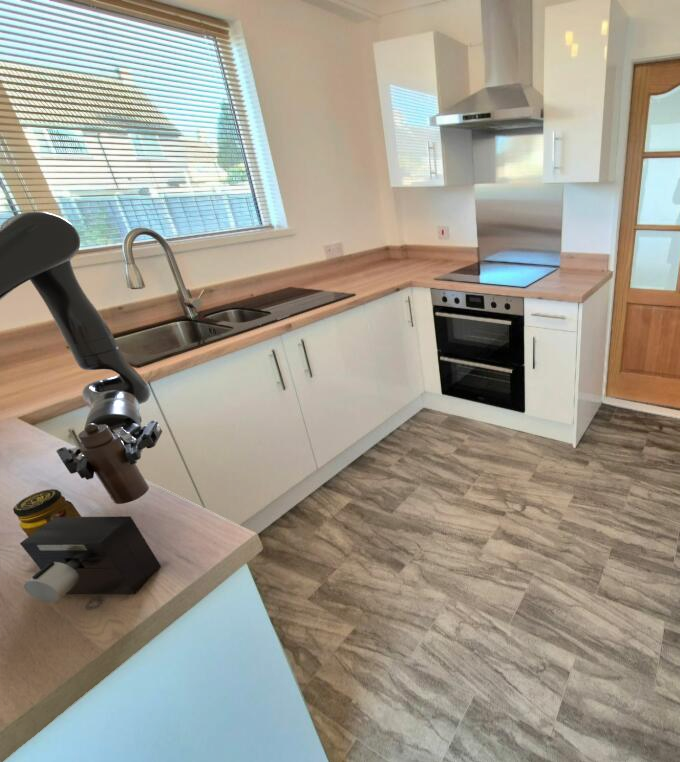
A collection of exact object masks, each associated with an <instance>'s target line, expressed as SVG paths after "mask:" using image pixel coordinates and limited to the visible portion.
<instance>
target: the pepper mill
mask: <svg viewBox="0 0 680 762" xmlns="http://www.w3.org/2000/svg"><path fill="white" fill-rule="evenodd" d="M85 425H86V424H85ZM77 437H78V439H79V441H80V442H82V445H81V446H80V450H81V452H82V453H83V455H84V456H85V458H86V460H87V461H88V463H89V464H90V466H91V467H92V469H93V471H94V475H95V476H96V477H97V478H98V480H99V481H100V484H101V485H102V486H103V488H104V489H105V491H106V493H107V494H108V496H109V497H110V499H111V500H112V502H113V503H114V504H116V505H124V504H129V503H131V502H134V501H136V500H137V499H140V498H141V497H142V496H144V495H146V493H147V492H148V491H149V490H150V489H149V488H150V487H149V484H148V483H147V481H146V479H145V478H144V476H143V475H142V472H141V471H140V469H139V467H138V465H137V463H136V464H133V465H131V464H130V463H129V461H128V459H127V457H126V455H125V448H126V447H125V445H124V443H123V441H122V440H121V438H120V436H119V435H118V434H117V433H112V432H111V431H110V429H109V427H108V426H107V425H96V424H88V425H86V426H84V429H83V430H82V431H80V432H79V433H78V434H77Z"/></svg>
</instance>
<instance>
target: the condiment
mask: <svg viewBox="0 0 680 762" xmlns="http://www.w3.org/2000/svg"><path fill="white" fill-rule="evenodd" d="M12 511H13V514H15V516H17V519H18V520H19V527H20V528H21V530H22V531H23V532H24V534H25V535H26V536H27V538H28V537H29V536H30V535H32V534H33V533H35V532H36V531H37V530H39V529H40V528H41V527H43V526H44V525H45V524H47V523H48V522H50V521H51V520H52V519H54V518H55V517H82V515H81V514H80V512H79V511H78V509H77V508H76V506H75V505H74V503H72V501H70V500H66V497H65V496H63V494H62V492H61V491H60V490H59V489H54V488H53V489H52V488H51V489H45V490H41V491H38V492H35V493H32V494H30V495H28V496H26V497H24V498H22V499H21V500H20V501H18V502H17V503H16V504H15V505H14V506H13V508H12Z"/></svg>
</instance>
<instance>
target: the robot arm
mask: <svg viewBox="0 0 680 762" xmlns="http://www.w3.org/2000/svg"><path fill="white" fill-rule="evenodd" d="M80 247H81V238H80V234H79V232H78V230H77V229H76V228H75V226H74V225H73V224H72V223H71V222H70V221H69V220H67V219H65V218H63V217H61V216H59V215H56V214H53V213H49V212H45V211H25V212H21V213H18V214H15V215H13V216H10V217H9V218H6V219H5V220H4V221H3V222H2V223H1V225H0V301H1V300H3V298H5V297H6V296H8V294H9V293H11V292H12V291H14V290H15V289H17V288H18V287H19V286H21V285H23V284H25V283H26V282H28V281H30V282H31V284H32V286H34V288H35V290H36V291H37V292H38V294H39V296H40V298H41V299H42V301H43V302H44V304H45V306H46V308H47V310H48V311H49V312H50V314H51V316H52V318H53V320H54V322H55V324H56V326H57V328H58V329H59V331H60V334H61V336H62V337H63V339H64V341H65V343H66V345H67V347H68V349H69V351H70V352H71V355H72V357H73V358H74V360H75V362H76V364H77V365H78V367H79V368H80V369H82V370H83V371H102V370H103V371H105V370H106V371H107V370H108V371H112V372H114V373H116V374H118V375H116V376H111V377H108V378H103V379H98V380H95V381H92V382H90V383H87V385H85V386H84V387H83V389H82V394H81V395H82V398H83V401H84V403H85V405H86V406H87V407H88V408H89V409H90V411H89V412H88V413H87V416H86V420H85V424H84V425H85V426H86V425H88V424H96V425H107V426H108V427H109V429H110V431H111V432H112V433H117V434H118V435H119V436H120V438H121V440H122V441H123V443H124V445H125V447H126V448H125V455H126V457H127V459H128V461H129V463H130V464H131V465H133V464H136V465H137V463H138V461H139V460H140V459H141V458H142V453H143V449H145V448H146V449H152V448H154V447H156V445H157V443H158V441H159V439H160V438H161V435H162V434H163V430H162V428H161V426H160V424H159V422H158V420H157V419H153V420H150V421H149V422H148V423H147V424H145V425H143V426H142V415H141V413H140V405H142V404H144V403H146V402H148V401H149V399H150V397H151V393H152V390H151V387H150V385H149V383H148V382H147V380H145V379H144V377H142V375H141V374H140V373H138V371H137V370H136V369H135V368H134V367H133V366H132V365H131V364H130V362H129V361H128V360H127V359H126V357H125V355H123V353H122V351H121V349H120V347H119V345H118V343H117V341H116V338H115V337H114V335H113V332H112V331H111V329H110V327H109V326H108V324H107V322H106V320H105V319H104V317H103V316H102V314H101V313H100V312H99V311H98V309H97V308H96V307H95V305H94V304H93V303H92V302H91V300H90V299H89V297H88V296H87V294H86V293H85V291H84V290H83V289H82V287H81V285H80V283H79V281H78V279H77V276H76V274H75V272H74V269H73V265H72V263H71V260H72V259H73V258H75V257H76V255H77V254H78V252H79V250H80ZM85 426H84V427H85ZM81 445H82V442H81V441H80V442H79V444H78V446H76V447H73V448H70V447H69V448H67V447H66V446H63V447H60V448H58V449H57V450H56V451H55V452H56V453H57V455H58V457H59V459H60V461H61V462H62V463H63V465H64V466H65V468H66V469H67V471H68V472H69V473H70V474H71V475H73V474H76V473H77V474H78V476H79V477H80V479H84V478H85V479H86V480H91V479H93V478H94V477H95V472H94V471H93V469H92V467H91V466H90V464H89V463H88V461H87V460H86V458H85V456H84V455H83V453H82V452H81V450H80V446H81Z"/></svg>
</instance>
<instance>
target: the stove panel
mask: <svg viewBox="0 0 680 762" xmlns="http://www.w3.org/2000/svg"><path fill="white" fill-rule="evenodd" d="M19 545H20V546H21V547H22V549H24V550H25V552H26V553H27V554H28V555H29V557H30V558H31V559H32V561H33V562H34V563H35V565H36V566H37V567H38V568H39V569H40V570H41V569H42V568H44V567H45V566H46V565H47V564H48V563H50V562H61V563H64V564H66V563H68V562H69V561H70V560H71V559H72V558H78V559H79V561H80V562H81V565H80V566H79V567H78V568H77V569H76V571H77V572H78V573H79V575H80V581H79V582H78V583H77V584H76V585H75V586H74V587H72V588H71V589H70V590H69V591H68V592H67V593H66V594H65V595H136V594H137V593H138V592H139V591H140V590H141V589H142V588H143V586H145V584H147V582H148V581H150V579H151V578H152V577H153V576H154V575H155V574H156V573H157V572H158V571H159V569H160V568H161V567H162V565H161V564H160V562H159V560H158V558H157V557H156V556H155V554H154V552H153V550H152V549H151V547H150V546H149V544H148V542H147V540H146V539H145V537H144V536H143V534H142V532H141V531H140V529H139V527H138V526H137V524H136V523H135V521H134V519H133V517H132V516H131V515H130V516H129V515H127V516H125V515H124V516H121V515H120V516H119V515H118V516H117V515H116V516H81V517H55V518H54V519H52V520H51V521H50V522H48V523H47V524H45V525H44V526H43V527H41V528H40V529H39V530H37V531H36V532H35V533H33V534H32V535H30V536H29V537H28V536H27V537H26V538H24V540H22V541H21V542H20V543H19Z"/></svg>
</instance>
